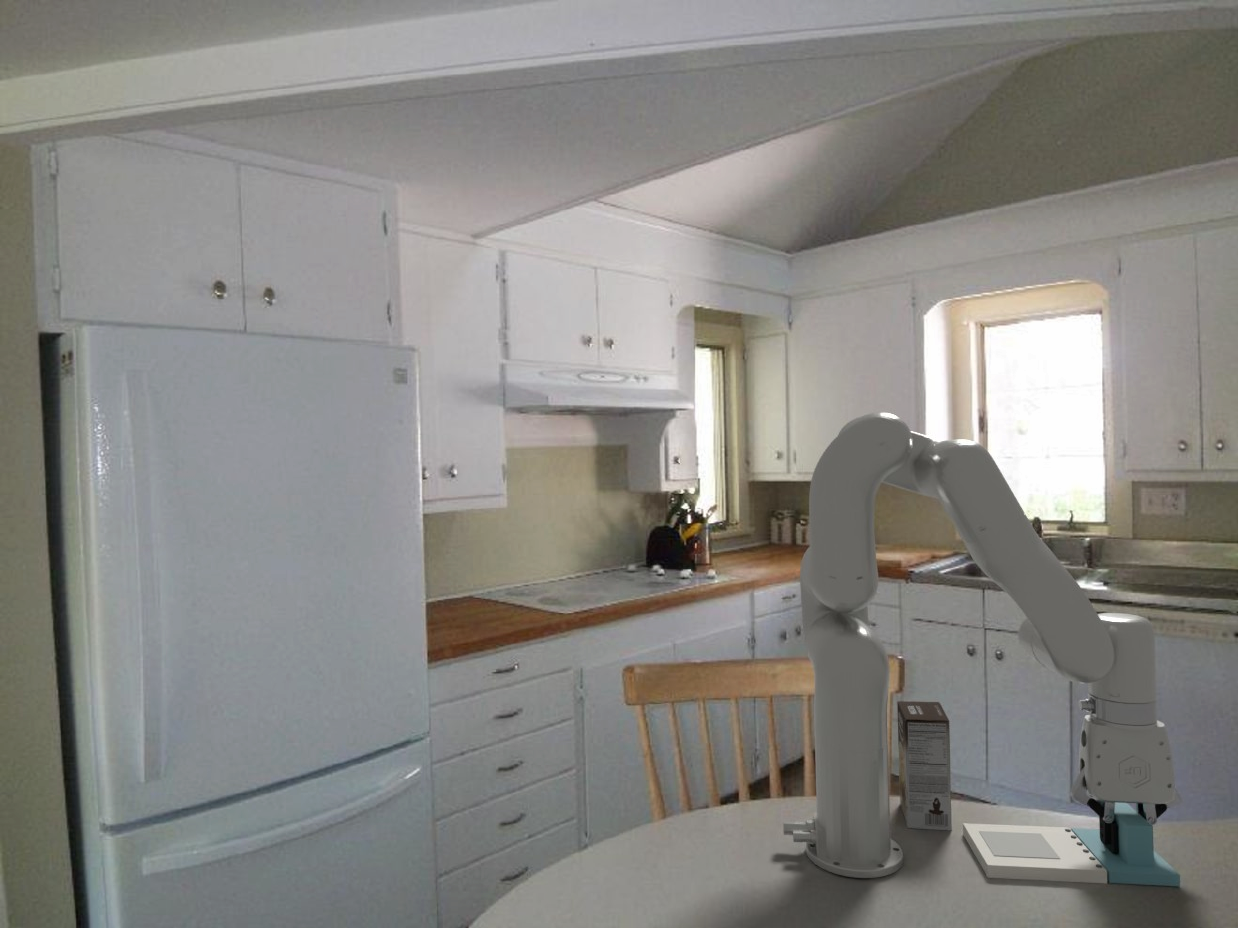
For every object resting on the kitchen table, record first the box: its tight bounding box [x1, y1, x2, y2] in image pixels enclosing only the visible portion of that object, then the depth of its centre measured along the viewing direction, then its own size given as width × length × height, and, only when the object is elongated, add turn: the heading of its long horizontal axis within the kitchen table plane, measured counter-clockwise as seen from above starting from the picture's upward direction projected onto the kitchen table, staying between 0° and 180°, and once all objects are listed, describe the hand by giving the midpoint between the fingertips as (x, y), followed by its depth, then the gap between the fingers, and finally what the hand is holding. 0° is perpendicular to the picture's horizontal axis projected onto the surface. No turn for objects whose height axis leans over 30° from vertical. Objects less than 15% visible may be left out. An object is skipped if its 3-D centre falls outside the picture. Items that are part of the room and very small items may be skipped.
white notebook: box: [962, 822, 1108, 884], centre depth 108 cm, size 14×12×2 cm
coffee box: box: [896, 700, 953, 832], centre depth 121 cm, size 9×6×16 cm
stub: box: [1070, 802, 1181, 887], centre depth 106 cm, size 8×12×6 cm, turn 171°
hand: (1126, 848), depth 106 cm, fingers closed on stub, 3 cm apart
